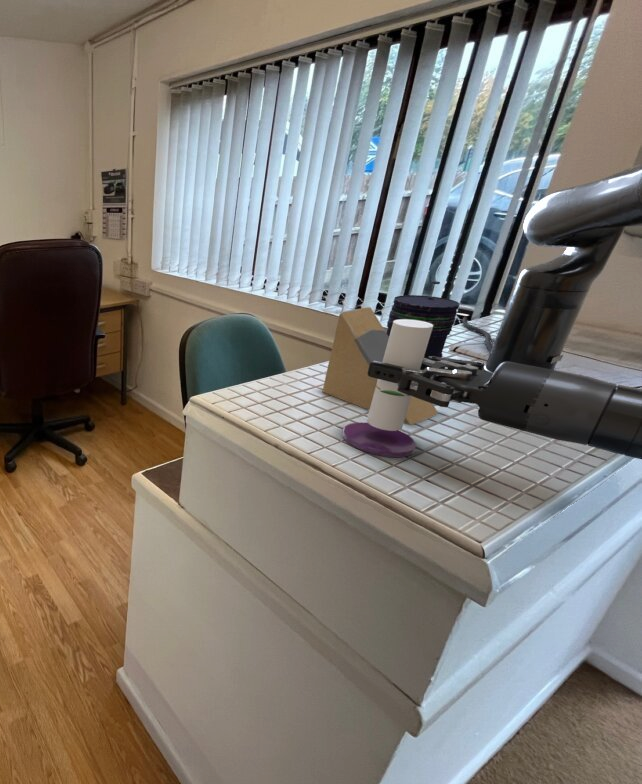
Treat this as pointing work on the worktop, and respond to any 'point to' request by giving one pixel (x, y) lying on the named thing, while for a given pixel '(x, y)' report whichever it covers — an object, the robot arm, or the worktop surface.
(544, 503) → the worktop surface
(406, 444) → the purple disc
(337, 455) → the worktop surface
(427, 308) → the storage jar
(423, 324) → the tube
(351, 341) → the sandwich container
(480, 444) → the worktop surface
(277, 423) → the worktop surface
